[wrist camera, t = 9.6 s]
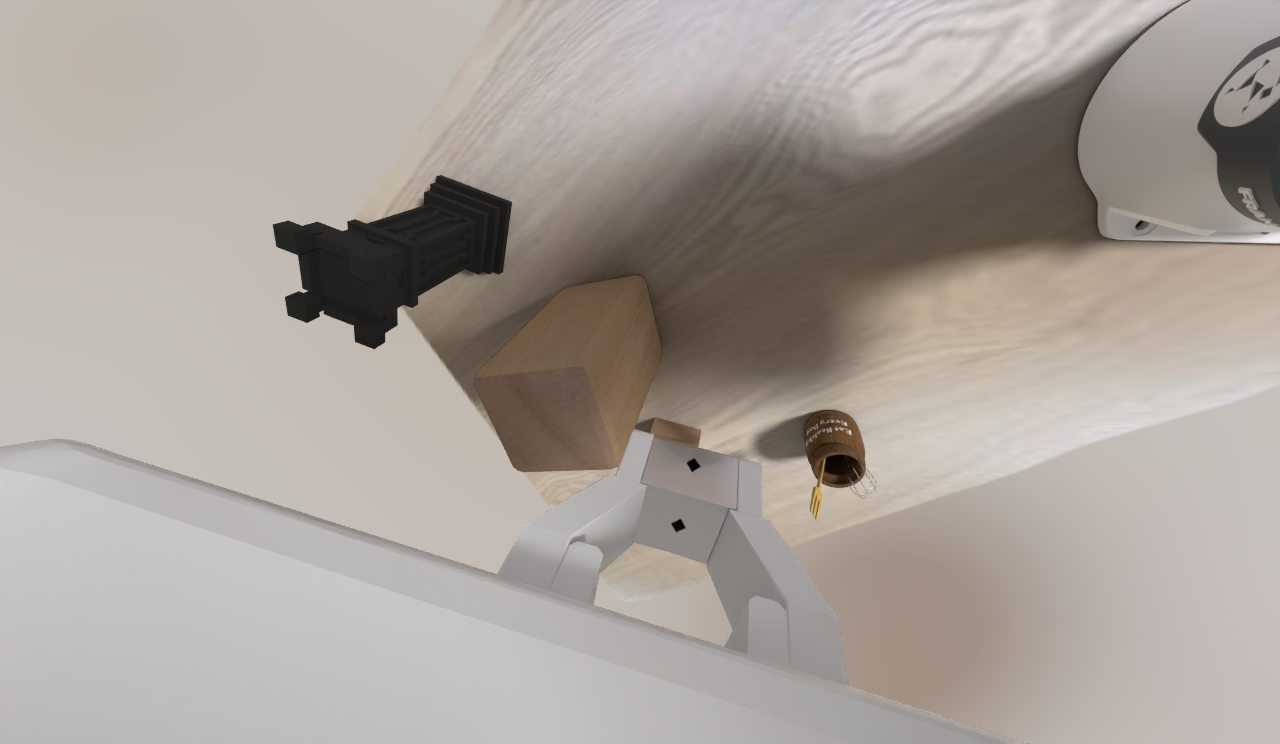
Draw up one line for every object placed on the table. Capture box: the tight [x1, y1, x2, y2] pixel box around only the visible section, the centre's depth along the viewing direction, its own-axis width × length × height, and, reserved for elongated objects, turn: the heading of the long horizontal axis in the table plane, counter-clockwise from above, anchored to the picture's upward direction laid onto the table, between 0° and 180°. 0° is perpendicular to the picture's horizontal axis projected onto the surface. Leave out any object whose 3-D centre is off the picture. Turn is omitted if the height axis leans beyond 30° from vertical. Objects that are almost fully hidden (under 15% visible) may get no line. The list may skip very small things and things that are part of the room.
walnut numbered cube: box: [650, 418, 701, 447], centre depth 56 cm, size 6×6×6 cm
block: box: [474, 275, 662, 472], centre depth 43 cm, size 10×10×20 cm
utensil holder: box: [804, 410, 876, 520], centre depth 47 cm, size 6×6×12 cm
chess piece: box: [273, 175, 512, 349], centre depth 41 cm, size 8×8×20 cm
